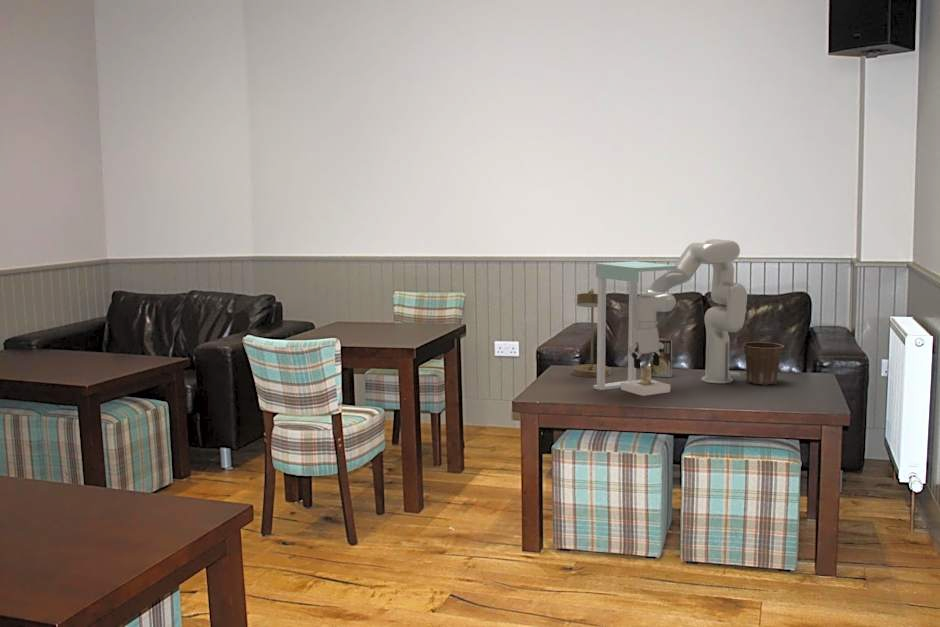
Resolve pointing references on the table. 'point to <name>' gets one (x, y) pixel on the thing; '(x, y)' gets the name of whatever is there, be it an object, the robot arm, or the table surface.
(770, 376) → the plant pot
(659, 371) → the coffee box
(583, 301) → the lamp
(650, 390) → the socket
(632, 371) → the green-topped side table
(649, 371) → the dowel
